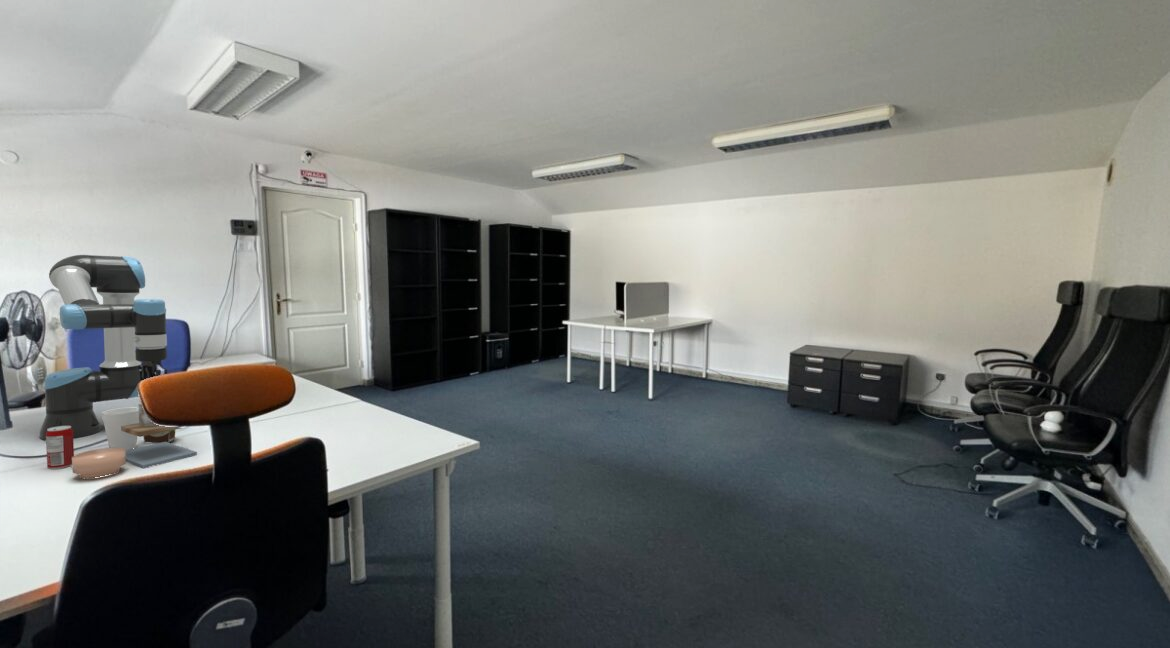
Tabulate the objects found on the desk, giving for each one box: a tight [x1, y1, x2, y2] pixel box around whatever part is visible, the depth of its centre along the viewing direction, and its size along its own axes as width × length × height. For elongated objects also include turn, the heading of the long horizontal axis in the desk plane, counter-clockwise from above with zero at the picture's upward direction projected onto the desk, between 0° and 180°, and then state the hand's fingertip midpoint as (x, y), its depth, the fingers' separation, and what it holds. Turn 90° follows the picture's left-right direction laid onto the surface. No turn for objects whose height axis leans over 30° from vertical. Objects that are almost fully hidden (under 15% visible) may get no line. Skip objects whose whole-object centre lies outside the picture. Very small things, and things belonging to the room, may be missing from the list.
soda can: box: [45, 426, 75, 470], centre depth 146 cm, size 6×6×12 cm
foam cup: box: [101, 406, 139, 450], centre depth 162 cm, size 10×9×13 cm
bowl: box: [71, 447, 127, 480], centre depth 141 cm, size 11×11×6 cm
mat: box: [125, 442, 198, 469], centre depth 157 cm, size 20×14×1 cm
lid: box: [121, 403, 182, 438], centre depth 156 cm, size 12×12×8 cm
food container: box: [142, 430, 176, 444], centre depth 172 cm, size 12×6×10 cm, turn 84°
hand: (153, 419), depth 156 cm, fingers closed on lid, 4 cm apart
